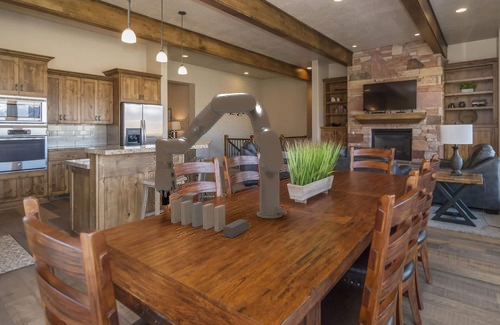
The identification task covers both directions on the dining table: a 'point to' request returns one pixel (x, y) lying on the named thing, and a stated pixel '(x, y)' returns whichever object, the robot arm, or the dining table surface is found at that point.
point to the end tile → (176, 211)
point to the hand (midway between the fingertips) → (165, 204)
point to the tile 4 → (208, 216)
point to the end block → (235, 228)
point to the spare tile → (197, 214)
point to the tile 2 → (186, 212)
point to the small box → (191, 197)
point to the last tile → (219, 218)
